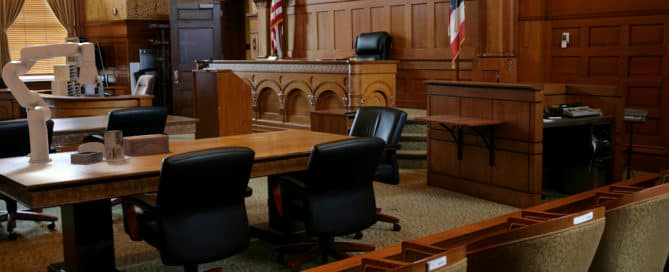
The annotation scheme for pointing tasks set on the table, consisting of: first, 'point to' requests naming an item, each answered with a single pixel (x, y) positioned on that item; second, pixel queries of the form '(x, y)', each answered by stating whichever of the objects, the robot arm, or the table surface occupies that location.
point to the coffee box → (114, 145)
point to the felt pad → (116, 159)
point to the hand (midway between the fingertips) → (90, 94)
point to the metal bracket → (86, 157)
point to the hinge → (92, 147)
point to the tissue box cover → (146, 144)
